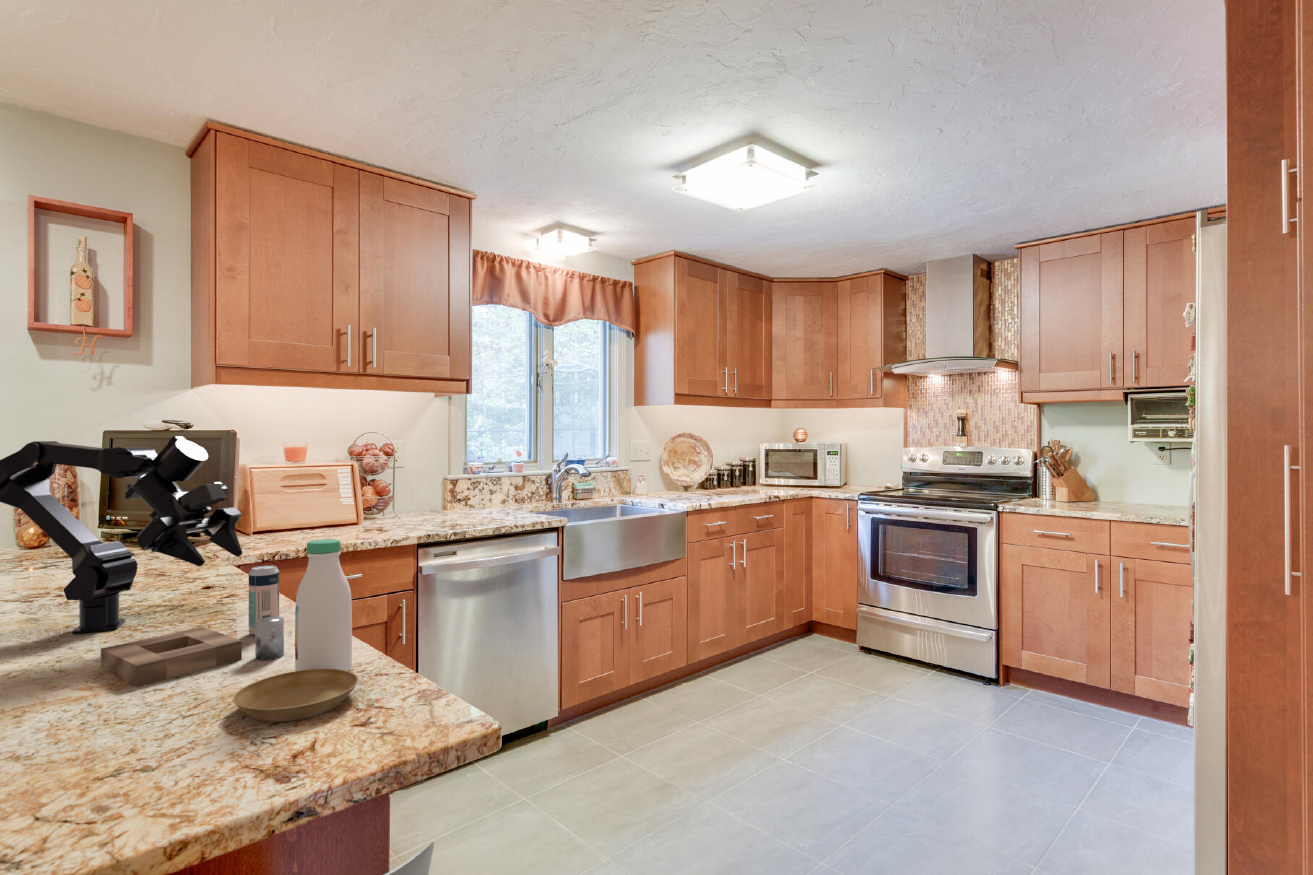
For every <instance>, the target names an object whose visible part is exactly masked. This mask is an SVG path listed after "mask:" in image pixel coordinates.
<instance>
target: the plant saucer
mask: <svg viewBox="0 0 1313 875" xmlns="http://www.w3.org/2000/svg"><path fill="white" fill-rule="evenodd" d="M359 679H360V678H359V676H358V674H356V673H354V672H352V671H346V670H341V669H310V670H300V671H295V670H294V671H290V672H285V673H281V674H275V675H273V676H269V677H265V678H262V679H260V680H256V681H254V682H252V683H250V684H248V685H246V686H244V687H242V688H240V689H239V690H238V691H237V692H235V694H234V695H233V697H232V702H233V703H234V705H236V706H237V707H238V708H239V709H240V710H241V711H243V712H244V713H245V714H246V715H248V716H249V717H250V718H253V719H255V720H258V721H262V722H269V723H270V722H271V723H273V722H274V723H275V722H276V723H278V722H289V721H290V722H291V721H298V720H303V719H308V718H312V717H315V716H318V715H319V716H320V714H324V713H326V712H329V711H331V710H333V709H335V708H337V706H339V705H340V704H342V703H343V701H345V700H346V698H347V697H348V696H349V695H350V694H351V693H352V692H353V690H354V689H355V688H356V686H357V685H358V683H359V681H360V680H359Z"/></svg>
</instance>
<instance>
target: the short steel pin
mask: <svg viewBox="0 0 1313 875" xmlns="http://www.w3.org/2000/svg"><path fill="white" fill-rule="evenodd" d="M284 618H285V617H283V616H279V617H267V618H262V619H259V620H256V621H255V636H254V637H255V641H254V642H255V646H254V647H255V650H254V651H255V659H254V660H256V661H259V662H264V661H265V662H267V661H273V660H277V659H276V658H278V659H280V658H282V657H283V656H284V655H285V651H284V650H285V644H284V643H285V635H284V634H285V627H284V625H285V619H284Z"/></svg>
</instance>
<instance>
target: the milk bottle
mask: <svg viewBox="0 0 1313 875" xmlns="http://www.w3.org/2000/svg"><path fill="white" fill-rule="evenodd" d="M341 543H342V542H341V540H340V539H331V538H329V539H328V538H327V539H326V538H325V539H315V540H310V541H308V542H307V543H306V557H307V558H308V563H307V567H306V570H305V573H304V575H303V577H302V579H301V581H300V584H299V585H298V588H297V592H296V598H295V612H294V618H295V619H294V622H295V623H294V647H295V648H294V651H295V652H294V659H295V660H294V667H295V668H294V669H295V670H294V672H295V671H300V670H310V669H341V670H346V671H349V670H351V668H352V665H353V664H352V663H353V638H352V637H353V621H352V620H353V615H352V614H353V613H352V612H353V609H352V608H353V607H352V605H353V604H352V592H351V587H350V584H349V581H348V579H347V577H346V575H345V573H344V570H343V569H342V566H341V563H340V555H341V549H342V548H341V546H342V545H341Z"/></svg>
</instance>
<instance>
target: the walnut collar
mask: <svg viewBox="0 0 1313 875" xmlns="http://www.w3.org/2000/svg"><path fill="white" fill-rule="evenodd" d="M242 645H243V642H242V640H241V639H238V638H235V637H232V636H229V635H227V634H224V633H221V632H219V631H215V630H212V629H209V628H206V627H205V626H200V627H196V628H191V629H186V630H182V631H177V632H176V631H175V632H172V633H168V634H163V635H159V636H153V637H149V638H144V639H139V640H135V641H130V642H125V643H120V644H117V645H116V644H115V645H112V646H105V647H101V648H100V668H101V669H102V670H104V671H106V672H108V673H109V674H111V675H113V676H115V677H118V678H120V679H121V680H122V681H125V682H126V683H129V684H131V685H132V686H134V687H140V686H144V685H148V684H152V683H155V682H159V681H163V680H168V679H171V678H175V676H176V677H179V676H183V675H187V674H191V673H195V672H198V671H202V670H206V669H210V668H214V667H218V666H220V665H225V664H229V663H233V662H236V661H240V660H243V656H242V655H243V654H242V653H243V652H242V651H243V650H242V647H243V646H242ZM213 666H214V667H213ZM194 671H195V672H194Z"/></svg>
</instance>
